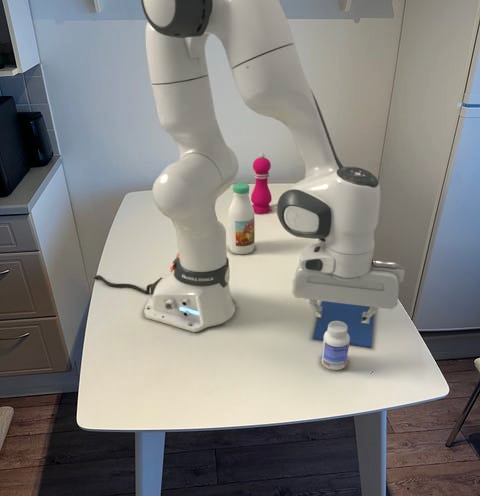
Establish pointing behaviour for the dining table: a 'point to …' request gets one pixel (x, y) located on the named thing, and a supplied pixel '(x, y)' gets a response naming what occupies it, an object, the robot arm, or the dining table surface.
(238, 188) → the milk bottle
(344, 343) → the pill bottle
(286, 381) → the dining table surface
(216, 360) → the dining table surface
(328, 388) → the dining table surface
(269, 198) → the pepper mill
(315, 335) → the blue pad
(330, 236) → the robot arm
